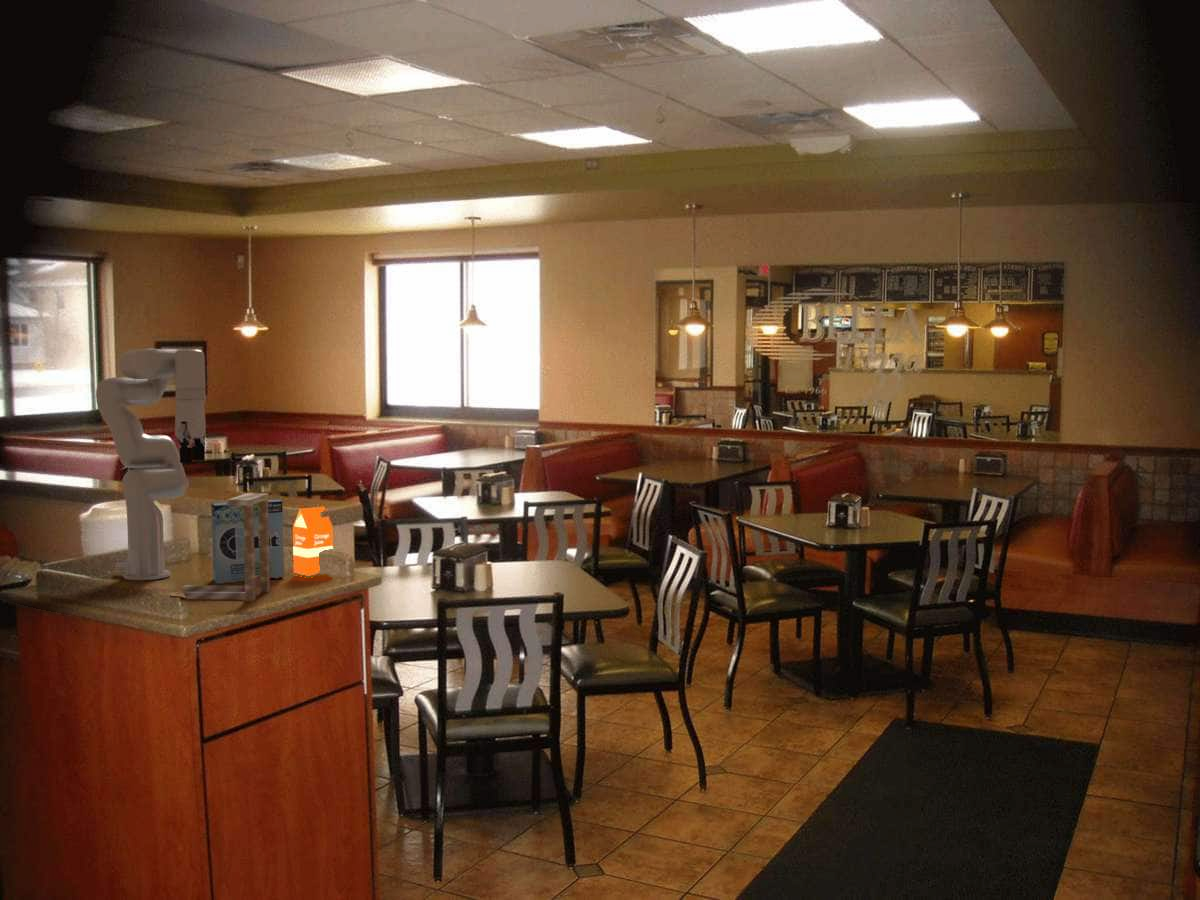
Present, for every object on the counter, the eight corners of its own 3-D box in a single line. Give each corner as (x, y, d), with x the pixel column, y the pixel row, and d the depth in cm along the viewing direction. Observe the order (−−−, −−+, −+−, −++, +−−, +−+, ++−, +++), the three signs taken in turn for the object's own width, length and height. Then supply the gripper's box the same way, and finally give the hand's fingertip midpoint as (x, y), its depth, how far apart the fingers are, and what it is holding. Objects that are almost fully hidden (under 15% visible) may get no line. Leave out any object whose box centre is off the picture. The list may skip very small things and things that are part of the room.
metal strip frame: (165, 601, 294) (162, 499, 292) (188, 589, 309) (185, 493, 307) (252, 601, 294) (250, 499, 292) (270, 590, 309) (268, 493, 307)
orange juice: (333, 573, 334) (332, 507, 332) (308, 578, 327) (306, 510, 326) (318, 570, 339) (317, 505, 337) (293, 574, 332) (291, 507, 331)
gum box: (281, 575, 331) (279, 498, 329) (285, 578, 326) (283, 500, 325) (212, 581, 322) (210, 502, 320) (215, 584, 317) (214, 504, 315)
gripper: (189, 395, 306) (191, 459, 307) (163, 396, 289) (165, 464, 290) (216, 395, 306) (218, 459, 307) (191, 396, 289) (193, 464, 290)
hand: (192, 461), depth 299 cm, fingers open, 7 cm apart
